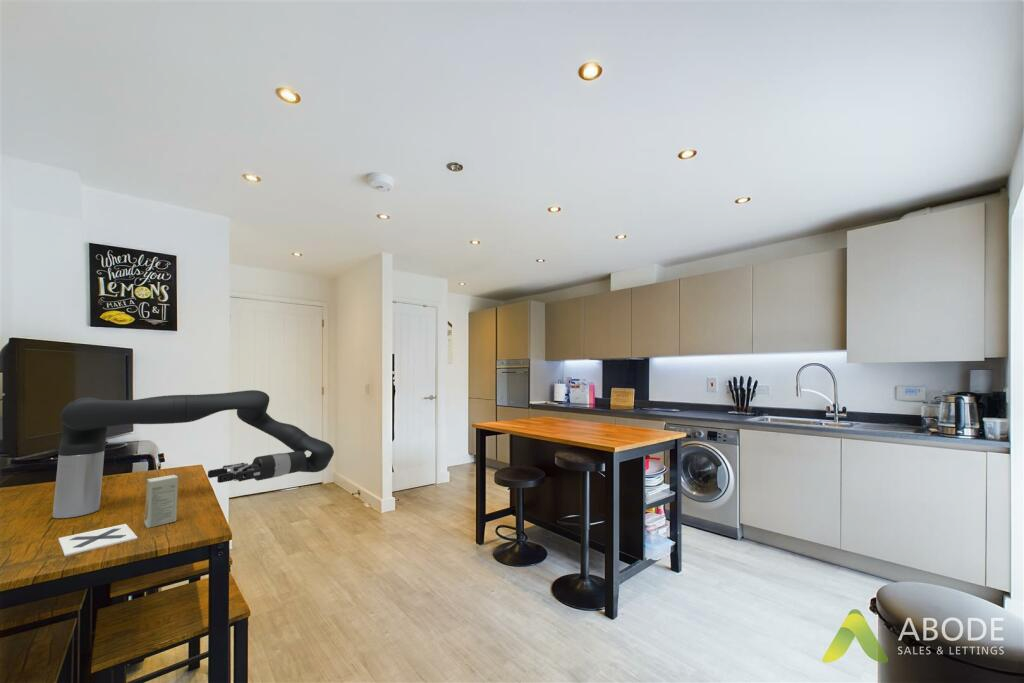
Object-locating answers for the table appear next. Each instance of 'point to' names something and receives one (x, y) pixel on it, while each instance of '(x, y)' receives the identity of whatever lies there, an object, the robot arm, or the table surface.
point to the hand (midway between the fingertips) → (212, 476)
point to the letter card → (96, 539)
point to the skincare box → (161, 500)
